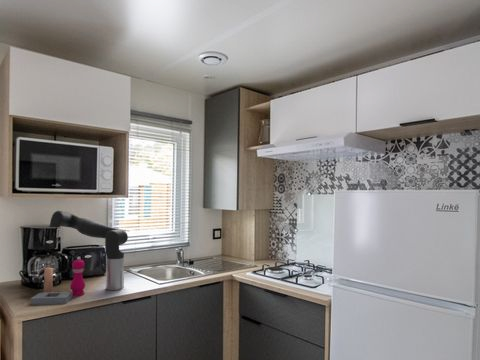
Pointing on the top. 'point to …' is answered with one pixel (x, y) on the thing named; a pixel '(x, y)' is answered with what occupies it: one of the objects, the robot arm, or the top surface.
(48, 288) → the dowel
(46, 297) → the socket block
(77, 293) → the pepper mill
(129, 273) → the top surface
